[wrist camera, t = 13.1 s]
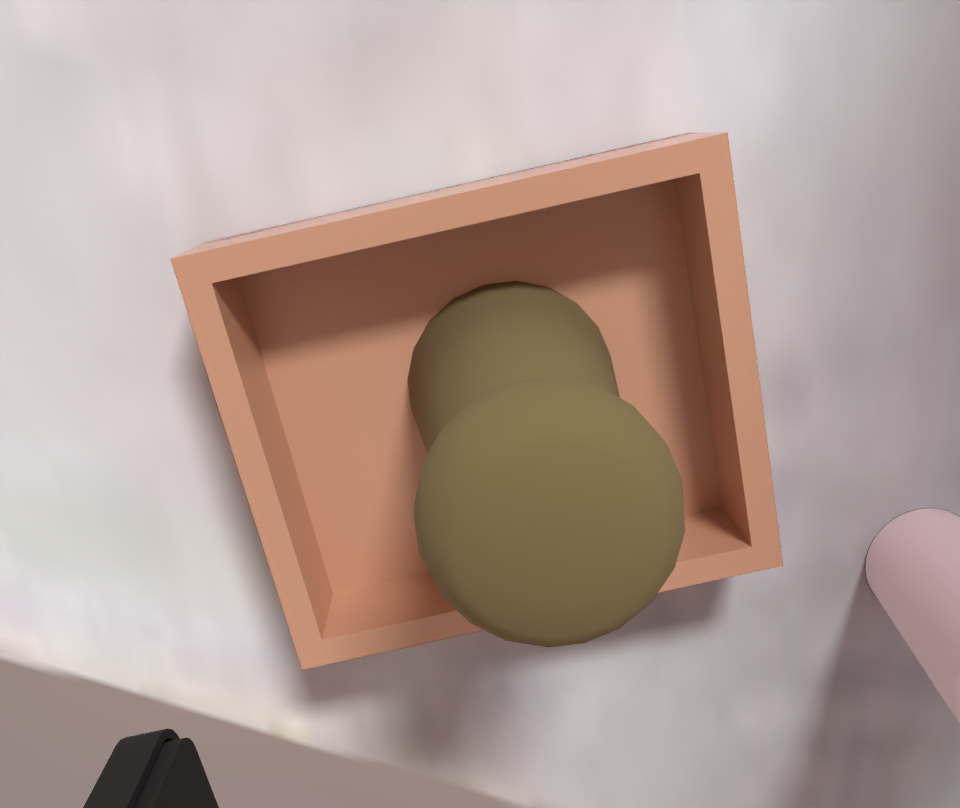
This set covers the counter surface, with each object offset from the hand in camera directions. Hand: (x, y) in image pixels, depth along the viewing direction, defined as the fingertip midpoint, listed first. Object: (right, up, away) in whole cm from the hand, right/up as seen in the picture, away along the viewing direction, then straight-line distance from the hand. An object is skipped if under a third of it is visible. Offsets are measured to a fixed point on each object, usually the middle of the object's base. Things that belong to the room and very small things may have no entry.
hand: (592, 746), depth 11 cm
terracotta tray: (-1, +5, +16) cm, 17 cm away
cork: (0, +5, +16) cm, 16 cm away
